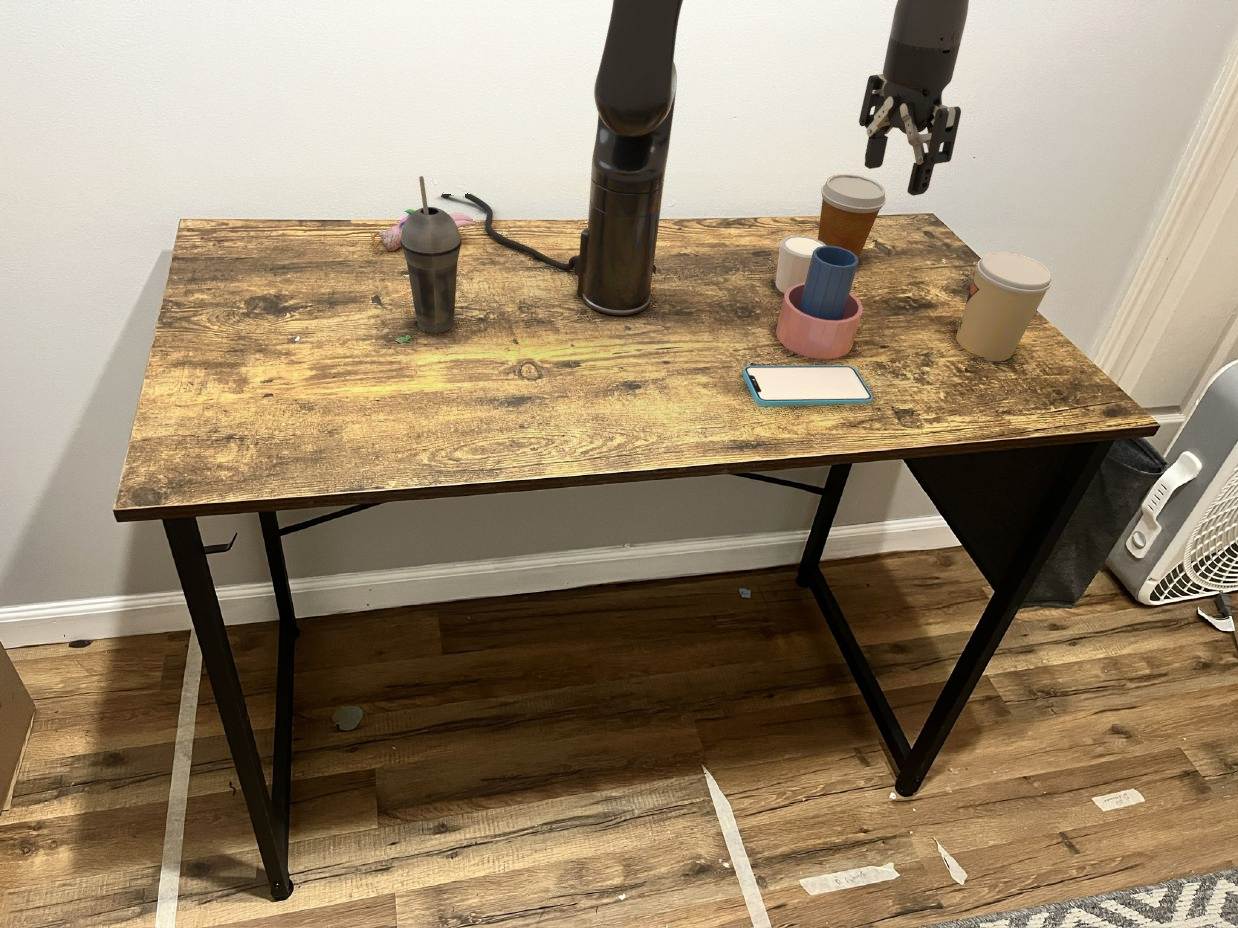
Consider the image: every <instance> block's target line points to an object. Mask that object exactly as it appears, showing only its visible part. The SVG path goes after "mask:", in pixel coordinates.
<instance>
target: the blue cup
mask: <svg viewBox="0 0 1238 928" xmlns="http://www.w3.org/2000/svg"><path fill="white" fill-rule="evenodd" d="M858 266H859V258H858V257H857V256H856V255H855V254H854V253H852V252H851V251H849V250H847V249H844V248H841V247H836V246H821V247H817V248H816V249H815V250H814V251H813V254H812V258H811V262H810V266H809V270H808V274H807V278H806V282H805V286H804V290H803V294H802V298H801V302H800V306H799V311H801V312H803V313H804V314H807V315H809V316H812V317H814V318H819V319H824V320H836V321H837V320H842V318H843V314H844V311H845V307H846V304H847V300H848V297H849V293H851V289H852V286H853V282H854V279H855V276H856V272H857V269H858Z"/></svg>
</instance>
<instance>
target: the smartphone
mask: <svg viewBox="0 0 1238 928" xmlns="http://www.w3.org/2000/svg"><path fill="white" fill-rule="evenodd" d="M742 377H743V379H744V381H745V383H746V385H747V387H748V390H749V392H750V394H751V396H752V399H753V401H754V402H755V404H756V405H757V406H760V407H763V408H775V407H777V408H779V407H796V406H797V407H798V406H801V407H803V406H804V407H805V406H831V405H852V404H853V405H857V404H870V403H871V402H872V401H873V399H874V396H873V394H872V393H871V391H870V390H869V388H868V386H867V385H866V383H865V382H864V381H863V379H862V377H861V376H860V373H859V372H858V371H857V369H856V368H855V367H853V366H851V365H845V364H840V365H839V364H838V365H835V364H834V365H827V364H826V365H823V364H822V365H747V366H745V367H744V368H743V371H742Z"/></svg>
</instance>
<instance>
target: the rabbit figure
mask: <svg viewBox="0 0 1238 928" xmlns="http://www.w3.org/2000/svg"><path fill="white" fill-rule="evenodd" d="M414 211H415V210H414V209H412V208H408V209H405V210H404V211H403V212H404V213H406V214H408V215H406V216H403V218H401V219H400V220H399V222H398V223H397V225H393V226H391V227H389V228H388V229H386V230H384V231H381V230H377V231H376V232H375V233H374V234H373V233H372V232H370V235H371V236H370V238H371V241H372V242H373V246H374V250H376V253H378V252H379V248H378V247H379V245H380V244H383V246H384V248H385V249H386V250H388V251H392V252H393V251H396V250H398V249H399V248H400V247H402V246H401V243H400V241H401V234H402V229H403V226H404V223H405V221H406V219H407V218H408V217H409V216H410V215H411V214H412V213H413V212H414ZM448 214H449V215H450V216H451V217H452V218H453V220H454V221H455V223H456V225H457V227H458V229H459V228H462V227H464V226H475V225H476V222H475V221H474V218H473V217H471V216H469V215H467V214H464V213H461V212H452V213H448ZM376 237H380V238H379V240H378V241H377V242H376V240H375V238H376Z"/></svg>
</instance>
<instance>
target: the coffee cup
mask: <svg viewBox="0 0 1238 928" xmlns="http://www.w3.org/2000/svg"><path fill="white" fill-rule="evenodd" d="M975 268H976V271H975V273H974V276H973V279H972V283H971V286H970V289H969V292H968V295H967V297H966V302H965V304H964V308H963V312H962V315H961V318H960V321H959V325H958V328H957V332H956V336H955V339H956V342H957V343H958V344H959V346H960V347H962V348H963V349H964V350H966V351H967V352H969V353H971V354H973V355H974V356H977V357H981V358H982V360H983V361H985V362H986V361H987V362H1004V361H1007V360H1009V359H1010V358H1011V357H1012V356H1013V354H1014V352H1015V350H1016V349H1017V348H1018V345H1019V344H1020V342H1021V340H1022V338H1023V336H1024V335H1025V332H1026V331H1027V329H1028V327H1029V325H1030V323H1031V321H1032V320H1033V318H1034V316H1035V315H1036V312H1037V310H1038V309H1039V307H1040V305H1041V302H1042V301H1043V299H1044V297H1045V295H1046V293H1047V292H1048V290H1049V289H1050V288H1051V286H1052V284H1053V279H1052V277H1053V276H1052V273H1051V271H1050V269H1048V268H1047V266H1046V265H1044V264H1043V263H1042V262H1040V261H1038V260H1036V259H1034V258H1032V257H1029V256H1027V255H1023V254H1020V253H1016V252H1011V251H992V252H988V253H986V254H984V255H983V256H982V257H981V258H980V259H979V260H978V262H977V264H976V267H975Z"/></svg>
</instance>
